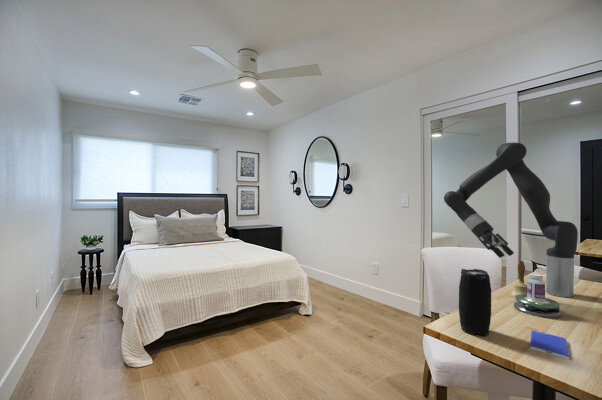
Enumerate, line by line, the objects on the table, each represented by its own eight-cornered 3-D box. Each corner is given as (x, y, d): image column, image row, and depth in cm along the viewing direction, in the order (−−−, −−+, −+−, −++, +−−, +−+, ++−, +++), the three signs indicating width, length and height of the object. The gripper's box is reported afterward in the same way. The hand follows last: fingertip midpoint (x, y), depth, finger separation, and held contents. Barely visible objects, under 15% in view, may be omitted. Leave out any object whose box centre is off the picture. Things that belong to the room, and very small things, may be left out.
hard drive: (531, 329, 90) (530, 345, 80) (566, 338, 84) (569, 355, 75) (531, 334, 90) (530, 350, 80) (566, 343, 84) (569, 361, 75)
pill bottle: (546, 299, 108) (547, 274, 108) (543, 303, 104) (543, 277, 104) (529, 296, 112) (529, 272, 112) (525, 298, 109) (525, 274, 109)
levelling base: (512, 301, 118) (512, 291, 118) (556, 308, 110) (556, 297, 110) (515, 312, 106) (515, 301, 106) (565, 321, 98) (565, 309, 98)
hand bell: (531, 301, 117) (532, 264, 117) (507, 296, 123) (507, 260, 123) (535, 297, 123) (535, 261, 123) (512, 292, 129) (512, 258, 129)
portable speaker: (453, 328, 92) (453, 269, 92) (469, 322, 97) (469, 266, 97) (480, 340, 85) (481, 276, 85) (496, 332, 90) (496, 272, 90)
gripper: (476, 220, 120) (506, 252, 110) (492, 219, 128) (522, 248, 118) (463, 231, 125) (491, 262, 115) (480, 230, 132) (507, 258, 122)
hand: (507, 255), depth 116 cm, fingers open, 8 cm apart
